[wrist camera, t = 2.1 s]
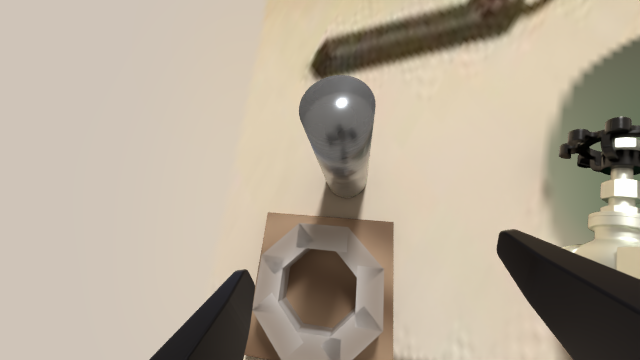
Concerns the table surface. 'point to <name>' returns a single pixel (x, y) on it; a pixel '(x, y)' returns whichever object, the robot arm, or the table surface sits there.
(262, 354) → the bore block
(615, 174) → the valve
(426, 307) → the table surface
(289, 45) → the table surface
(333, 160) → the metal pin
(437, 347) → the table surface
